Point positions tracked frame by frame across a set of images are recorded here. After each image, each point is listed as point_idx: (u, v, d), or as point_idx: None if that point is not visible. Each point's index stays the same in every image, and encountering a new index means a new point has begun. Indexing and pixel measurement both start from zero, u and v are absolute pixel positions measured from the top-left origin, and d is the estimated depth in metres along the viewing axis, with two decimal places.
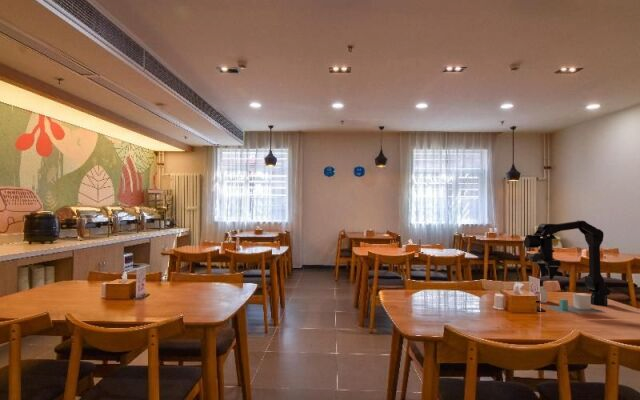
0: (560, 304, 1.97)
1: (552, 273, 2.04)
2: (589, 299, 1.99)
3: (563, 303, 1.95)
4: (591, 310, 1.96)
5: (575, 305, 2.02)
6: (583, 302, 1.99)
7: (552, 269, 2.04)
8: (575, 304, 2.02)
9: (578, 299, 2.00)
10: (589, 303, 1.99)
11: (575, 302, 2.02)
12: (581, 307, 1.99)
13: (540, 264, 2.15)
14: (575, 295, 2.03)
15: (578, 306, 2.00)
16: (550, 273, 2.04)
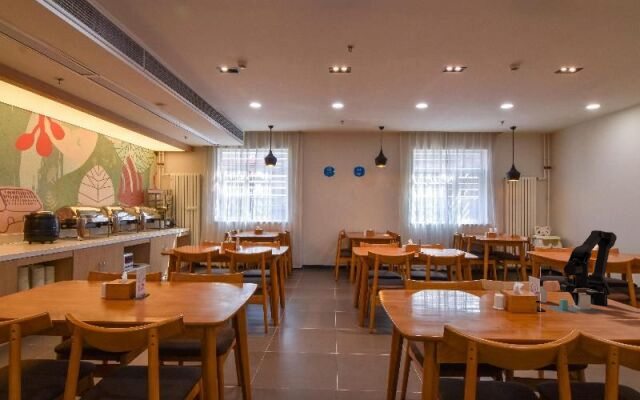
0: (560, 304, 1.97)
1: (574, 299, 2.01)
2: (589, 299, 1.99)
3: (563, 303, 1.95)
4: (591, 310, 1.96)
5: (575, 305, 2.02)
6: (583, 302, 1.99)
7: (574, 295, 2.01)
8: None
9: (578, 299, 2.00)
10: (589, 303, 1.99)
11: None
12: (581, 307, 1.99)
13: (586, 292, 2.03)
14: None
15: (578, 306, 2.00)
16: (573, 298, 2.02)
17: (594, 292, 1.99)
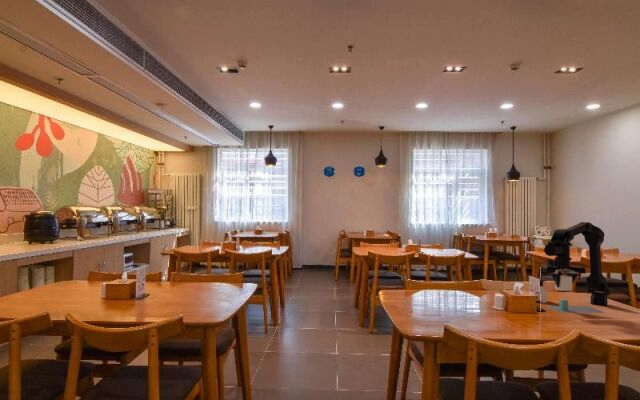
0: (560, 304, 1.97)
1: (555, 280, 1.97)
2: (570, 280, 1.94)
3: (563, 303, 1.95)
4: (591, 310, 1.96)
5: (556, 287, 1.98)
6: (564, 283, 1.94)
7: (555, 276, 1.97)
8: (556, 286, 1.98)
9: None
10: (570, 284, 1.94)
11: None
12: (562, 289, 1.94)
13: (568, 274, 1.98)
14: None
15: (559, 288, 1.96)
16: (554, 280, 1.98)
17: (576, 273, 1.95)
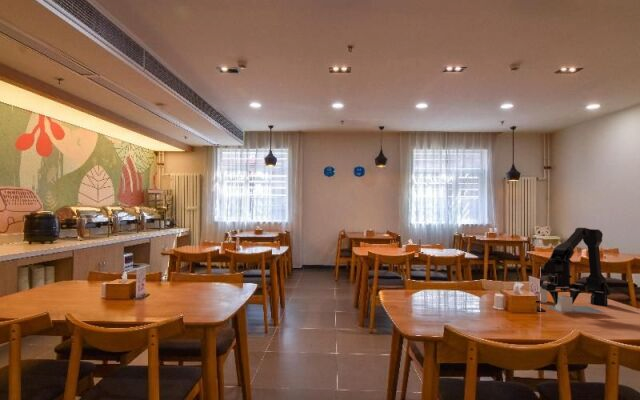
0: None
1: (554, 298, 1.97)
2: (571, 301, 1.94)
3: None
4: (591, 310, 1.96)
5: (557, 307, 1.98)
6: (565, 304, 1.94)
7: (553, 294, 1.97)
8: (557, 306, 1.98)
9: (559, 301, 1.96)
10: (571, 305, 1.94)
11: (557, 304, 1.98)
12: (563, 309, 1.94)
13: (570, 291, 1.98)
14: None
15: (560, 308, 1.95)
16: (552, 297, 1.98)
17: (578, 291, 1.95)
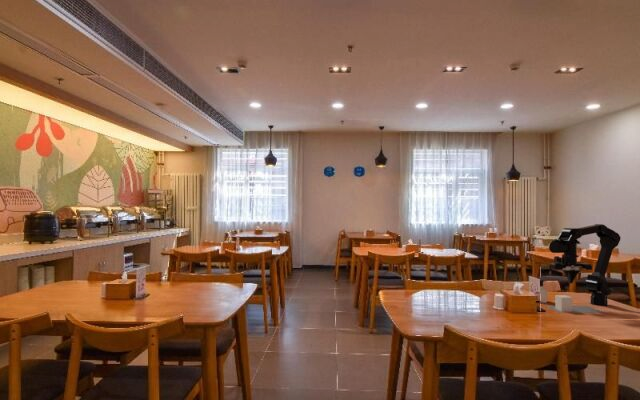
0: None
1: (568, 277, 2.06)
2: (571, 301, 1.94)
3: None
4: (591, 310, 1.96)
5: (557, 307, 1.98)
6: (565, 304, 1.94)
7: (568, 273, 2.06)
8: (557, 306, 1.98)
9: (559, 301, 1.96)
10: (571, 305, 1.94)
11: (557, 304, 1.98)
12: (563, 309, 1.94)
13: None
14: (557, 297, 1.98)
15: (560, 308, 1.95)
16: (567, 277, 2.07)
17: (577, 270, 2.04)
